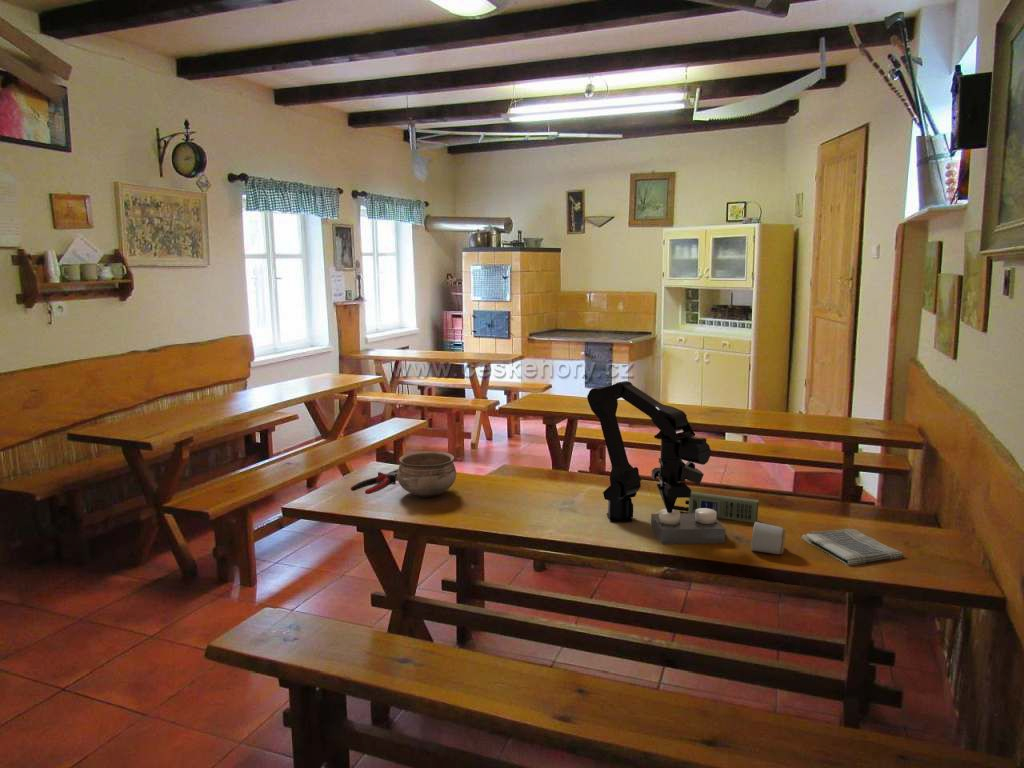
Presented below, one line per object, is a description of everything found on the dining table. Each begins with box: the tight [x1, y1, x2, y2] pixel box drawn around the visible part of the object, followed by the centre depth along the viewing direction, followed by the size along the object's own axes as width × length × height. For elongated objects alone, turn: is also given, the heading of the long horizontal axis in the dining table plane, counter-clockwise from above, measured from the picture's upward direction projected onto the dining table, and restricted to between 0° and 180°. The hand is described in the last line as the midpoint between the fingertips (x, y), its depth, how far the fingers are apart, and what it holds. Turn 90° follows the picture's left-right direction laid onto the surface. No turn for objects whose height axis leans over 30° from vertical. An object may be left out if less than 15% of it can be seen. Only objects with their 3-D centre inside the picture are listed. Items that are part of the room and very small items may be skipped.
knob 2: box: [695, 508, 717, 524], centre depth 190 cm, size 6×6×6 cm
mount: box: [650, 512, 726, 545], centre depth 190 cm, size 17×12×4 cm
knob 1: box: [658, 508, 681, 525], centre depth 190 cm, size 6×6×6 cm
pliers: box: [350, 468, 399, 494], centre depth 237 cm, size 3×9×22 cm
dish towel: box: [801, 528, 905, 567], centre depth 181 cm, size 19×18×3 cm
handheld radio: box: [673, 491, 760, 524], centre depth 204 cm, size 7×3×25 cm
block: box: [750, 521, 786, 555], centre depth 180 cm, size 10×8×7 cm
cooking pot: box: [396, 450, 457, 499], centre depth 224 cm, size 25×19×12 cm
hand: (669, 512), depth 189 cm, fingers closed, pressing on knob 1
